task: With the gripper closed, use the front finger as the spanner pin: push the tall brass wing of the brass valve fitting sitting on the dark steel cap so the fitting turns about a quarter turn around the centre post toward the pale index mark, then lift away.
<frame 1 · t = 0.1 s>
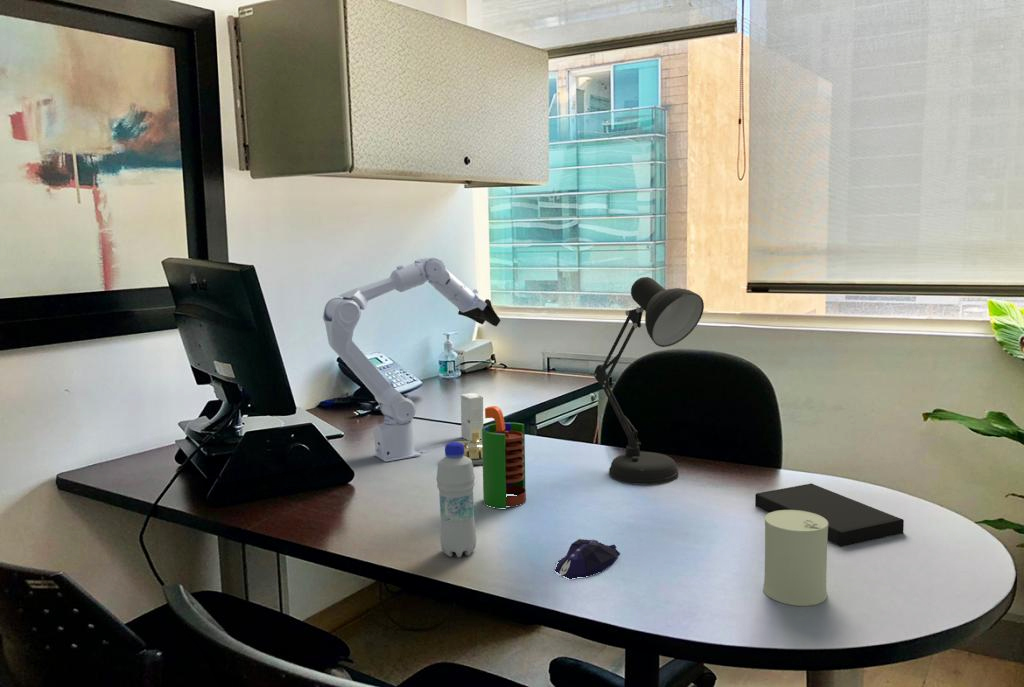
hand: (491, 322, 214), 32 cm above the table, tool tilted 50°, fingers open, 7 cm apart
coil heat exchanger: (504, 502, 168), on the table
brass valve fitting: (473, 443, 200), point 4 cm above the table, hinge at 0.0°
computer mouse: (585, 565, 136), on the table
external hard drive: (825, 521, 152), on the table
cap: (475, 458, 200), on the table
can: (794, 593, 122), on the table
bottle: (458, 553, 142), on the table
skincare box: (473, 439, 220), on the table
desk lamp: (645, 475, 182), on the table
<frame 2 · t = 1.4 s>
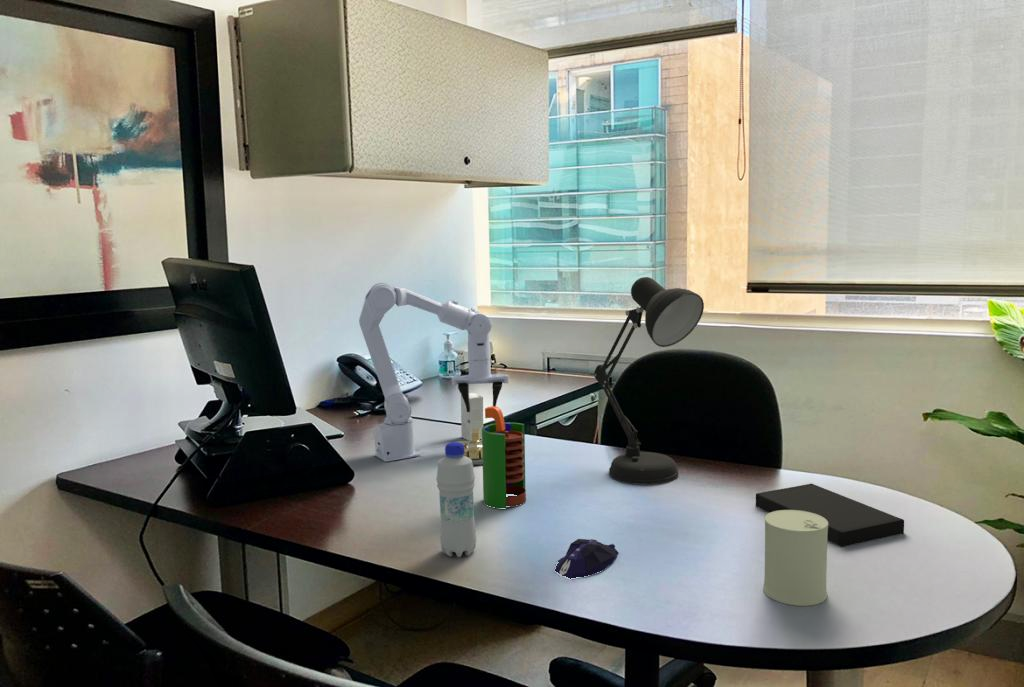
hand: (481, 411, 208), 10 cm above the table, tool pointing down, fingers open, 6 cm apart
nothing on the table moved.
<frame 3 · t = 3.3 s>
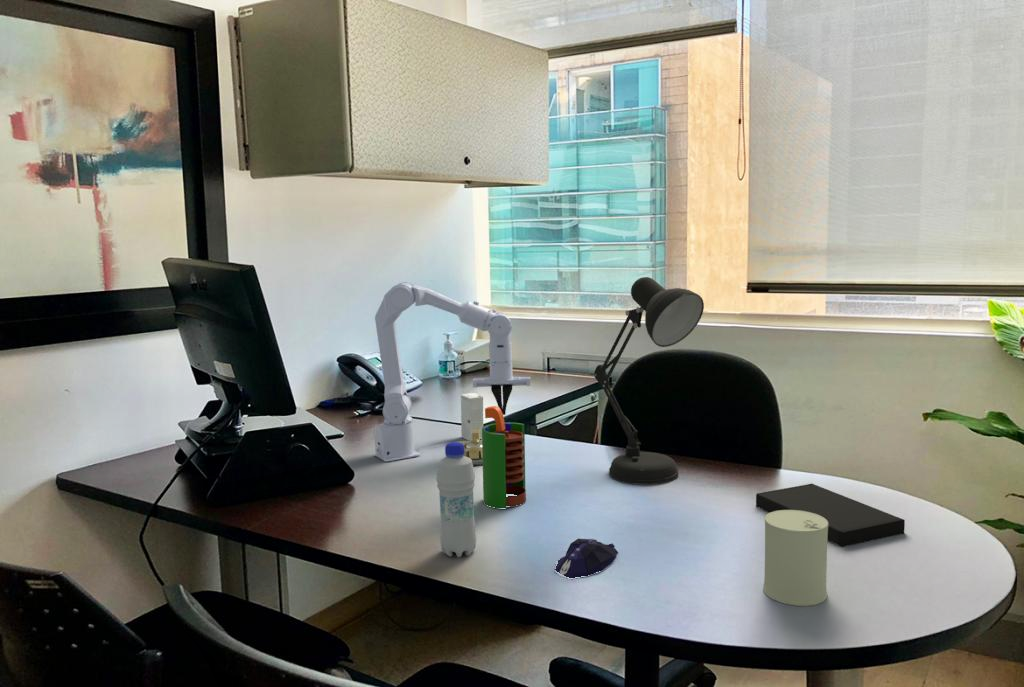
hand: (502, 414, 204), 10 cm above the table, tool pointing down, fingers closed
nothing on the table moved.
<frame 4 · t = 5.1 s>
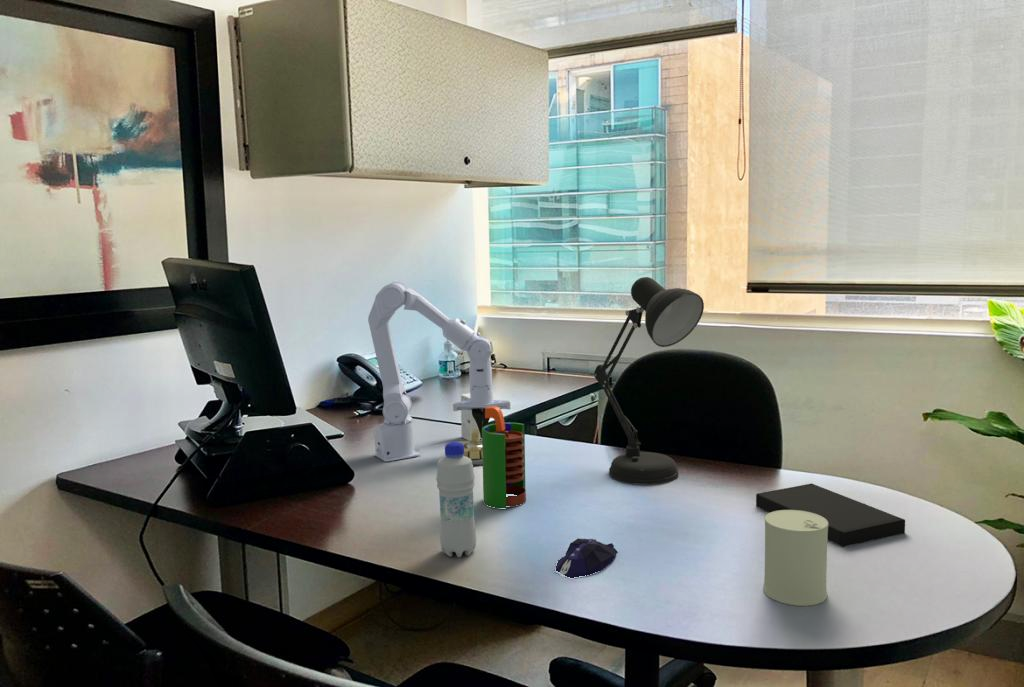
hand: (483, 437, 205), 4 cm above the table, tool pointing down, fingers closed
brass valve fitting: (473, 443, 200), point 4 cm above the table, hinge at 1.6°, touching gripper
everything else where it was.
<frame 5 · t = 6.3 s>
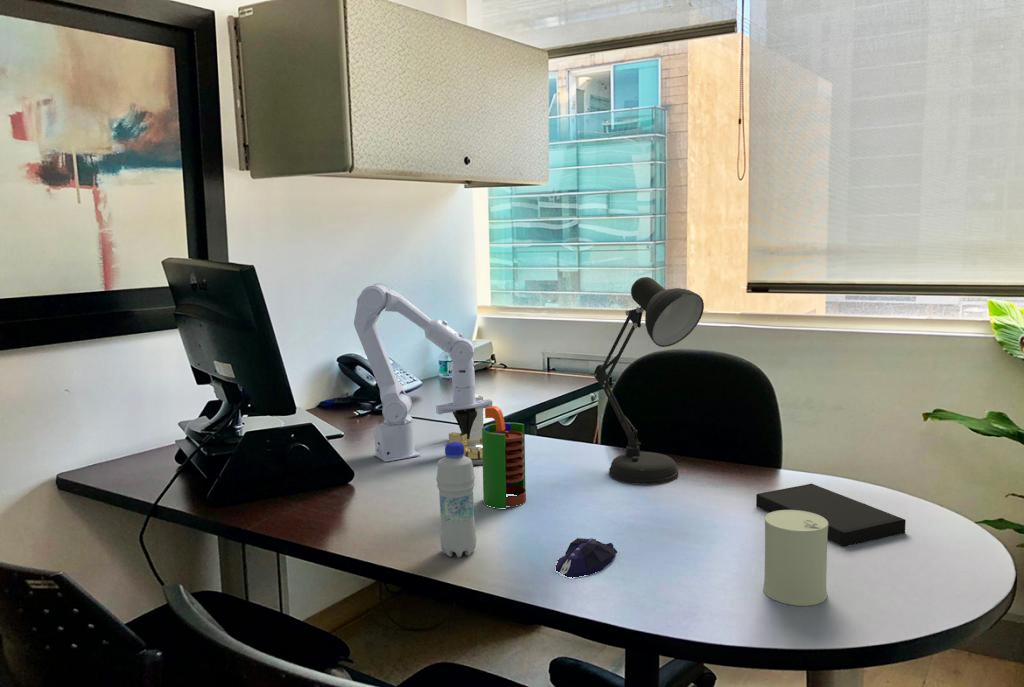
hand: (465, 438, 204), 4 cm above the table, tool pointing down, fingers closed
brass valve fitting: (472, 444, 200), point 4 cm above the table, hinge at 57.0°, touching gripper
everything else where it was.
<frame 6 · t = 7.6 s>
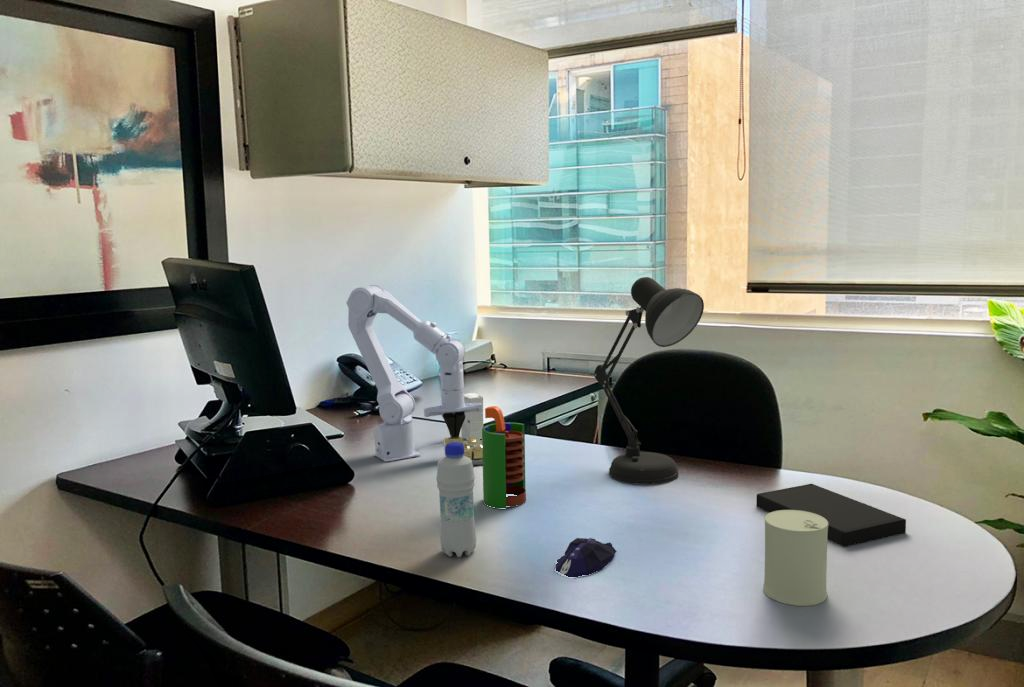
hand: (454, 442, 201), 4 cm above the table, tool pointing down, fingers closed
brass valve fitting: (472, 445, 199), point 4 cm above the table, hinge at 102.0°, touching gripper
everything else where it was.
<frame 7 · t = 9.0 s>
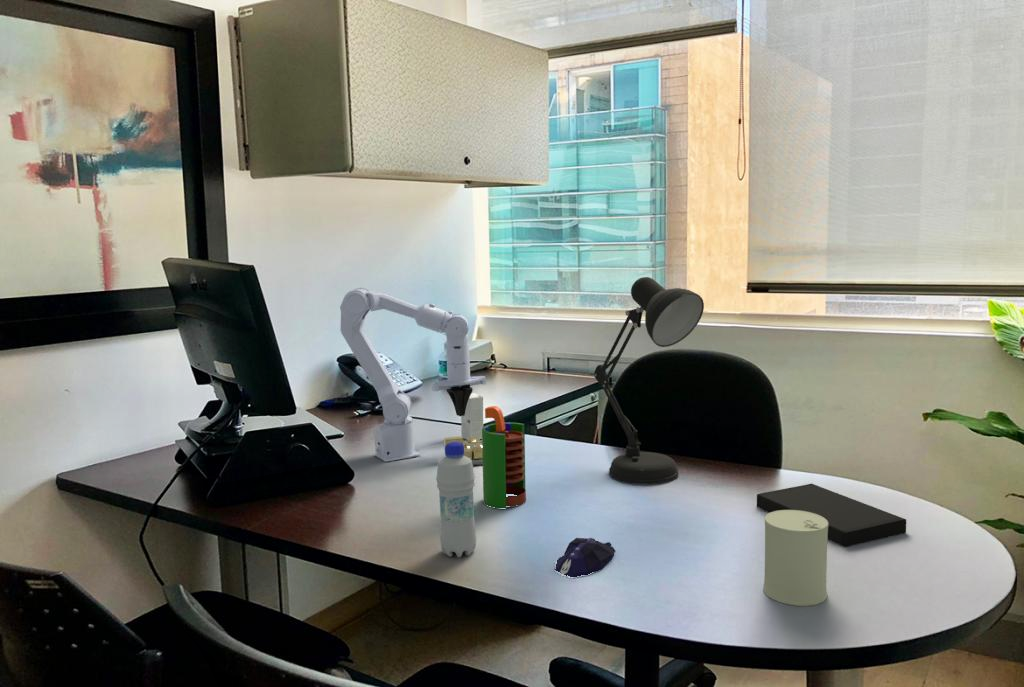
hand: (460, 415, 204), 10 cm above the table, tool pointing down, fingers closed
brass valve fitting: (472, 445, 199), point 4 cm above the table, hinge at 102.1°
everything else where it was.
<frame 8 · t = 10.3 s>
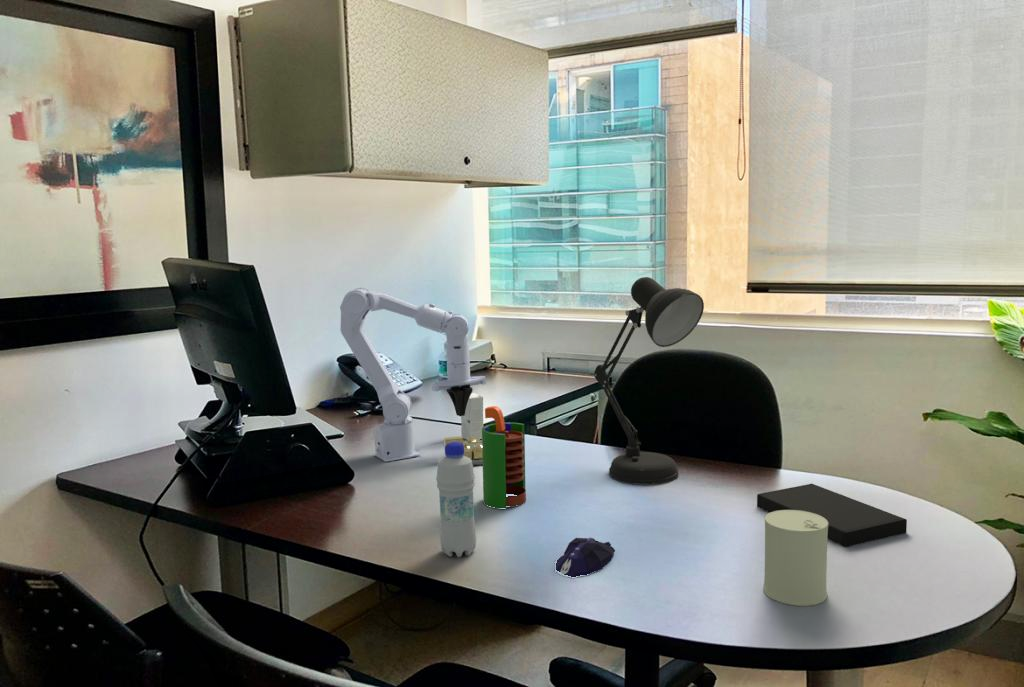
hand: (460, 415, 204), 10 cm above the table, tool pointing down, fingers closed
nothing on the table moved.
at the end: brass valve fitting at +102° (first picture: +0°); brass valve fitting touching nothing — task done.
